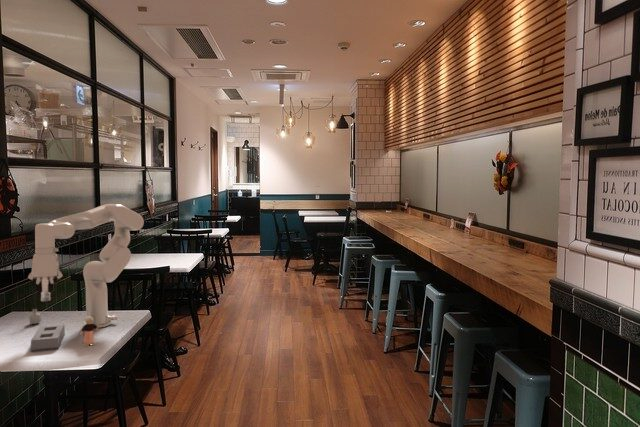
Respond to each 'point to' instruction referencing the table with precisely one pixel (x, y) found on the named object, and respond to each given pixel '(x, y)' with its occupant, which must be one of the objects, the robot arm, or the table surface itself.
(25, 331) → the table surface
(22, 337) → the table surface
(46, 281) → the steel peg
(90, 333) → the grandmother figurine
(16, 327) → the table surface
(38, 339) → the hole block
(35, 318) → the reed diffuser
